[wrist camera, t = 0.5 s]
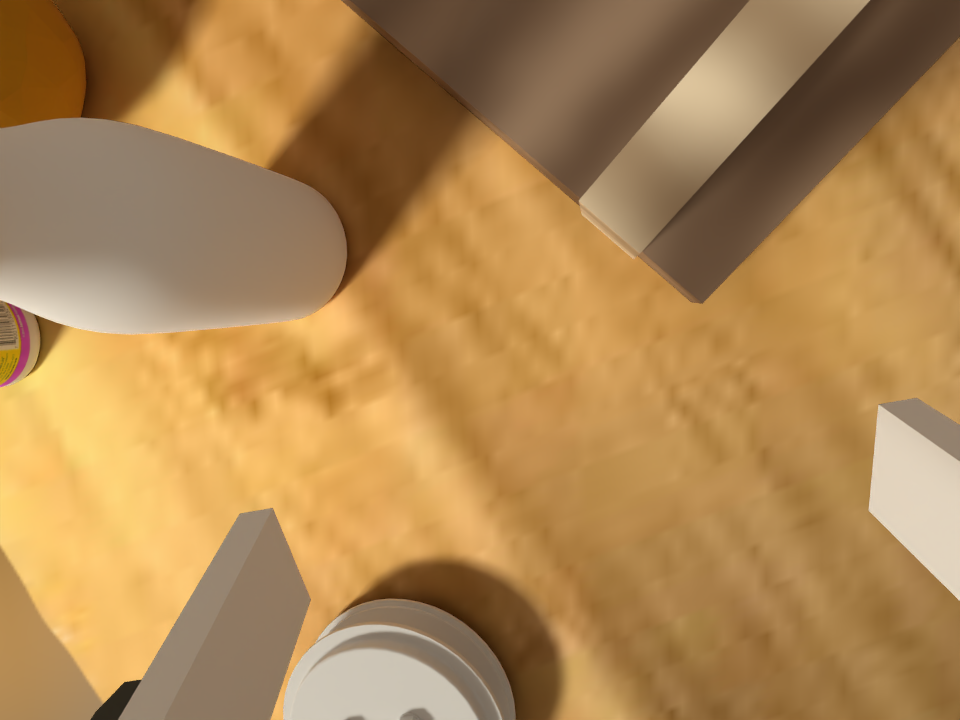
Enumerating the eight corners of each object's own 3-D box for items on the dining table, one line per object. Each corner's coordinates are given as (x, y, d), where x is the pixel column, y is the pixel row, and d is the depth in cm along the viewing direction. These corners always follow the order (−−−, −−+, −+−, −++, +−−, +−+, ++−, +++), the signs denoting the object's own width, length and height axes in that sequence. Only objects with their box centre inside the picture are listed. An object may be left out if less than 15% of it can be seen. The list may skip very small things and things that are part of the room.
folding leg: (893, -147, 21) (959, -246, 17) (957, -99, 21) (1039, -187, 17) (581, 214, 25) (578, 200, 21) (633, 259, 25) (640, 253, 21)
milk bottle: (355, 182, 30) (-83, -9, 11) (349, 326, 31) (-59, 386, 12) (226, 177, 32) (-360, 0, 12) (225, 314, 33) (-317, 351, 13)
